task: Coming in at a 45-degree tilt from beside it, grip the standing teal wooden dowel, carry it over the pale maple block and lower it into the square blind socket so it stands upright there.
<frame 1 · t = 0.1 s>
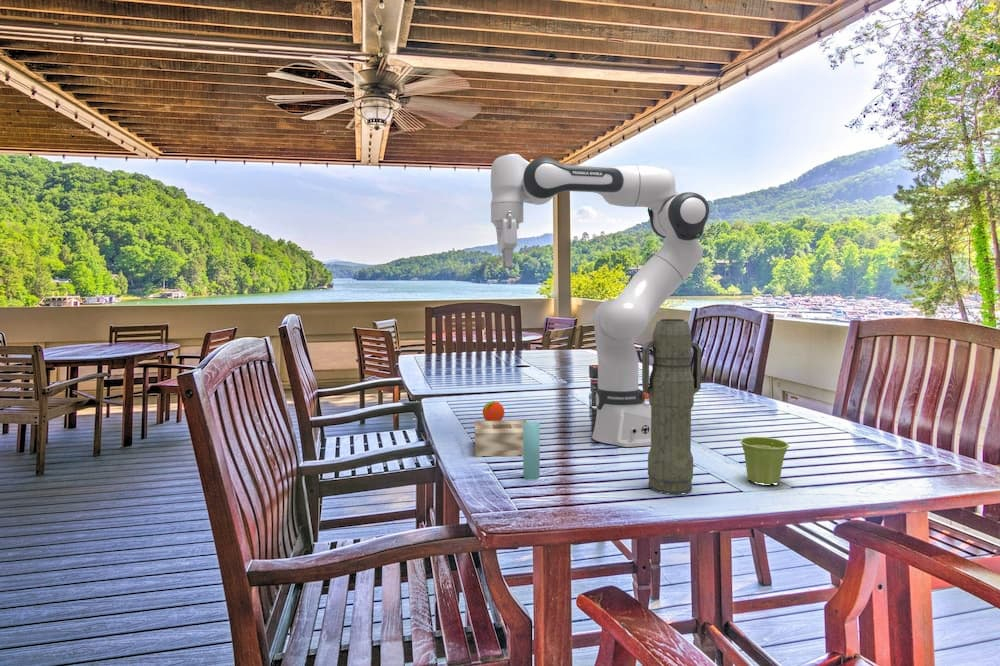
hand: (507, 267, 153), 48 cm above the table, tool pointing down, fingers open, 8 cm apart
maple block: (502, 449, 148), on the table
teal pin: (531, 477, 125), on the table
thermos: (670, 488, 117), on the table
clementine: (492, 423, 179), on the table
plant pot: (763, 483, 121), on the table
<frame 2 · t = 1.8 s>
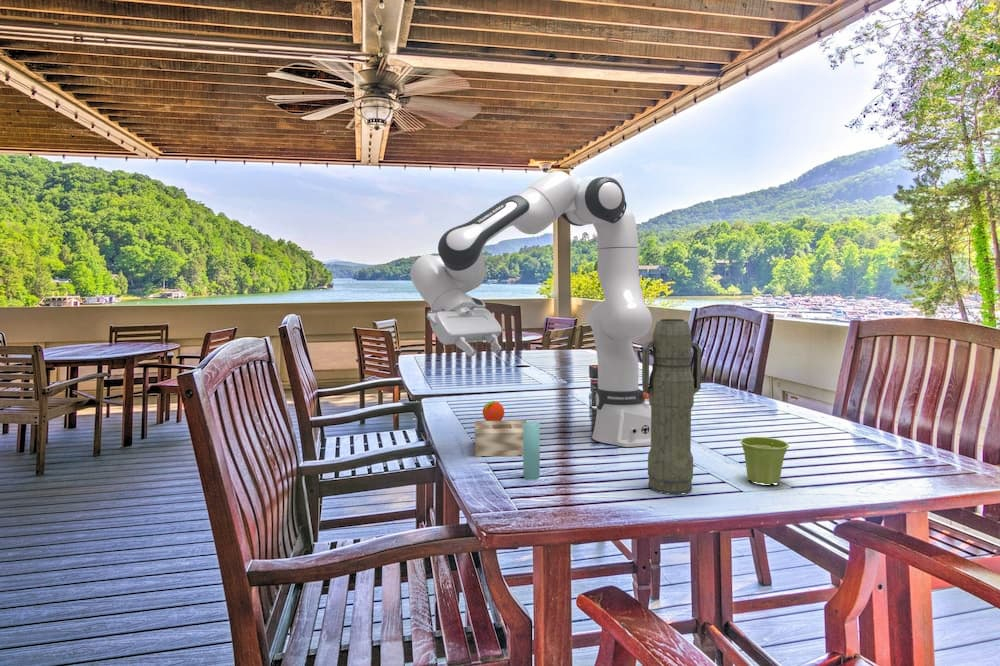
hand: (486, 352, 130), 27 cm above the table, tool tilted 45°, fingers open, 8 cm apart
nothing on the table moved.
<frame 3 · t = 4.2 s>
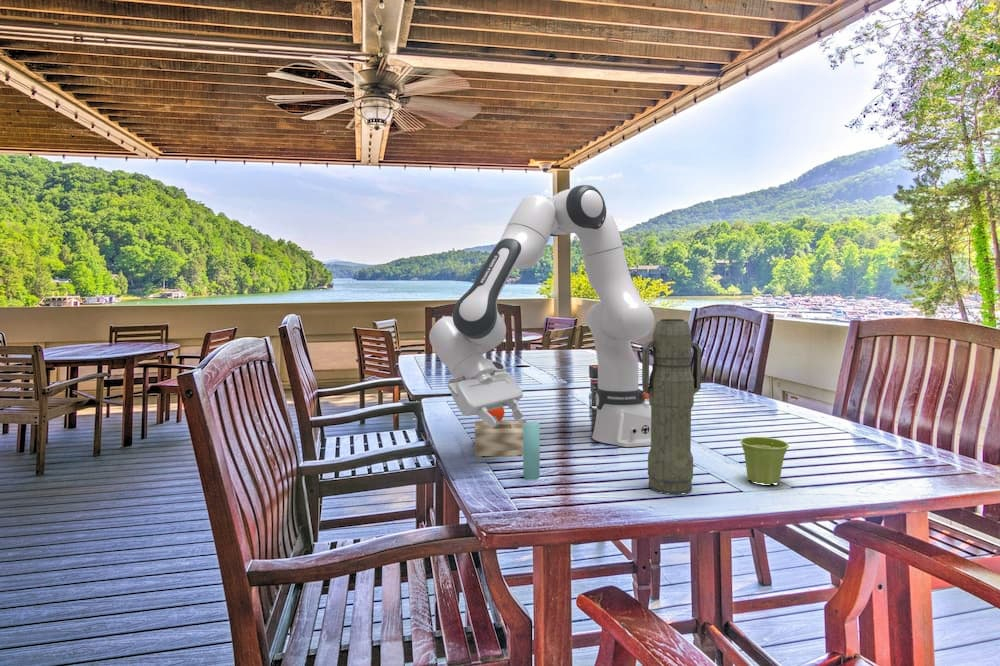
hand: (508, 421, 128), 12 cm above the table, tool tilted 45°, fingers open, 8 cm apart
nothing on the table moved.
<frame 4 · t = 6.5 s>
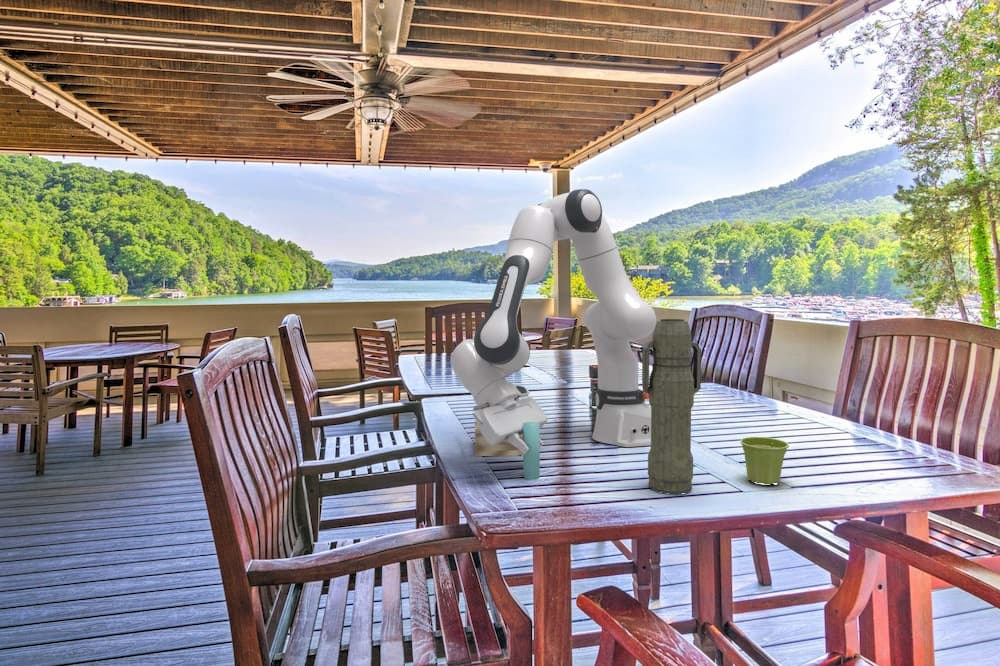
hand: (533, 449, 124), 6 cm above the table, tool tilted 45°, fingers closed on teal pin, 4 cm apart
teal pin: (531, 477, 125), on the table, touching gripper
everything else where it was.
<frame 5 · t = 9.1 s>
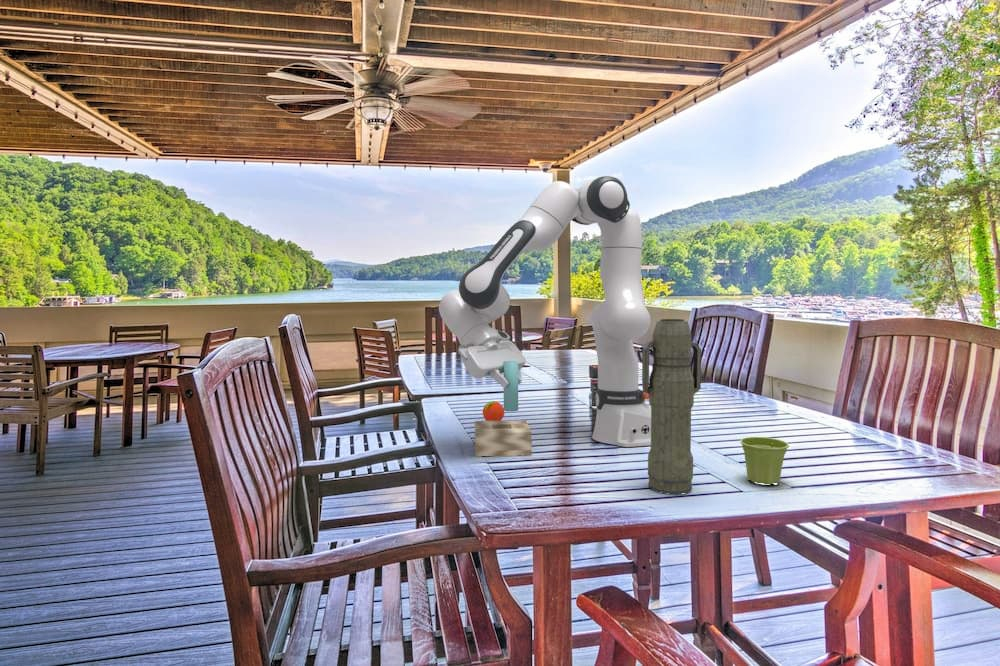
hand: (513, 384, 139), 18 cm above the table, tool tilted 45°, fingers closed on teal pin, 4 cm apart
teal pin: (510, 410, 140), point 12 cm above the table, touching gripper
everything else where it was.
when the fingers open (10 cm above the table, at t = 11.9 s): teal pin drops 2 cm, resting on maple block.
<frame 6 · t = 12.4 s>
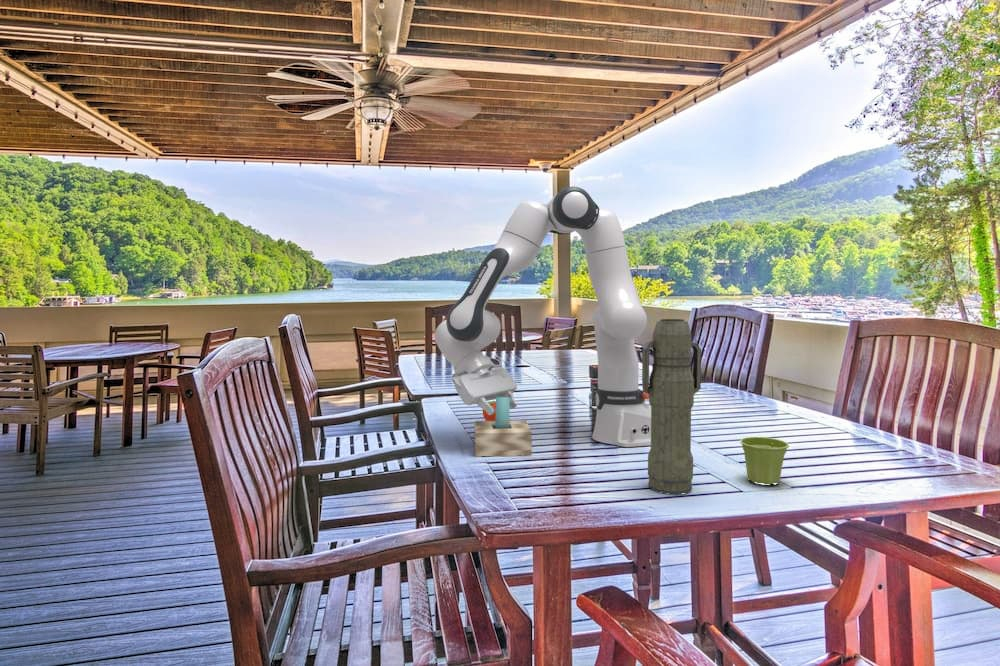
hand: (503, 410, 147), 10 cm above the table, tool tilted 45°, fingers open, 8 cm apart
teal pin: (501, 443, 148), point 2 cm above the table, touching maple block
everything else where it was.
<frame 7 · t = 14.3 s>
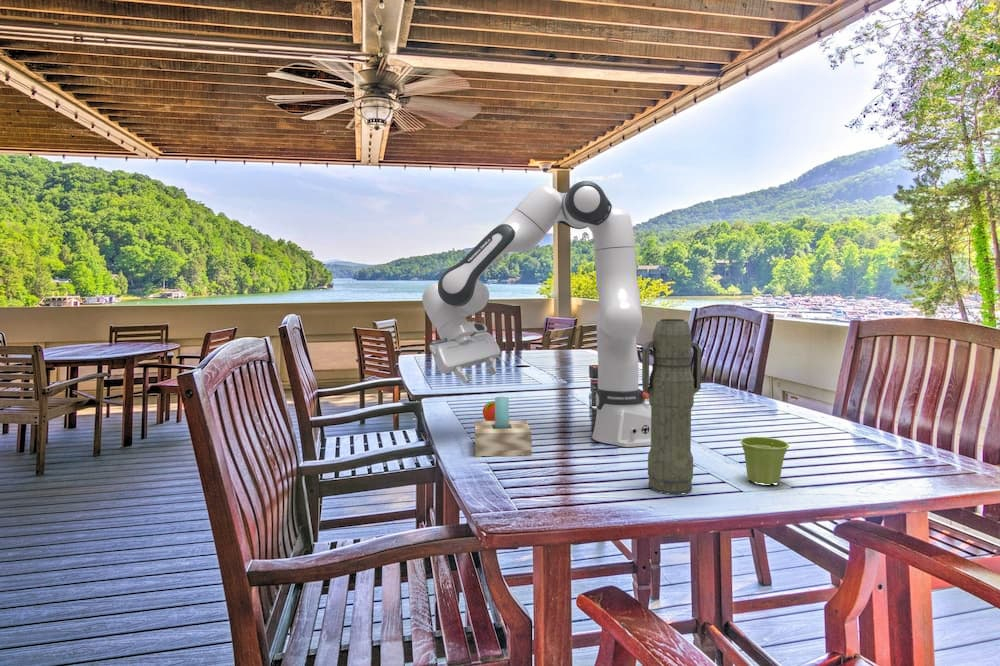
hand: (480, 378, 151), 18 cm above the table, tool tilted 35°, fingers open, 8 cm apart
nothing on the table moved.
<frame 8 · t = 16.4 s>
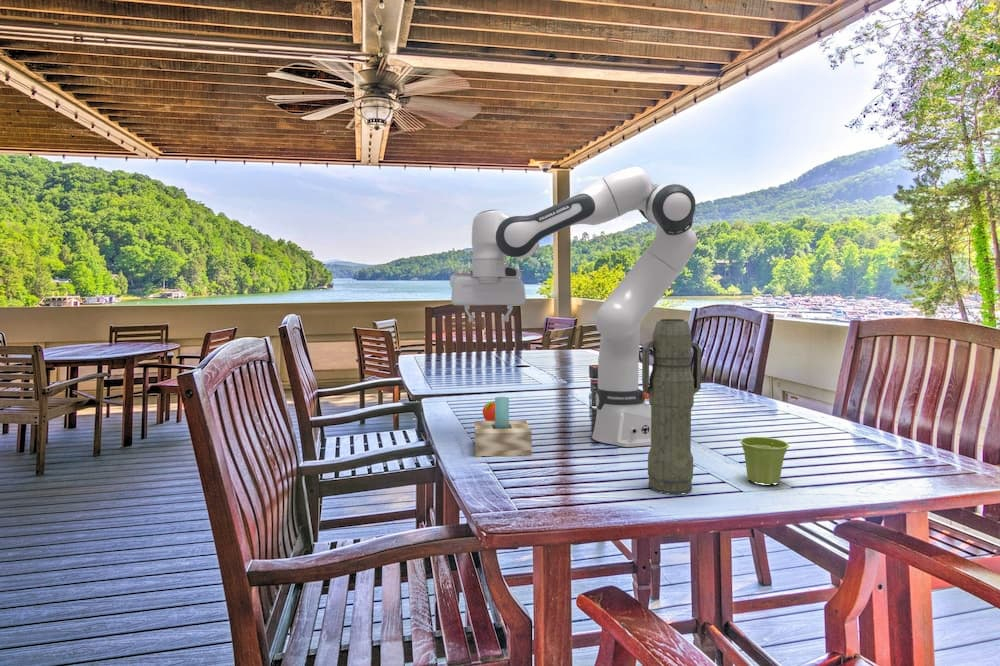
hand: (488, 322, 154), 33 cm above the table, tool pointing down, fingers open, 8 cm apart
nothing on the table moved.
at the end: teal pin 0.0 cm off-centre on the maple block, point 1.5 cm above the maple block's base; teal pin tilted 0°; the gripper is holding nothing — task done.
